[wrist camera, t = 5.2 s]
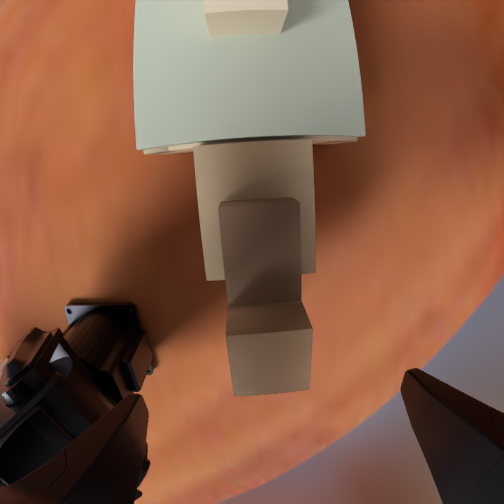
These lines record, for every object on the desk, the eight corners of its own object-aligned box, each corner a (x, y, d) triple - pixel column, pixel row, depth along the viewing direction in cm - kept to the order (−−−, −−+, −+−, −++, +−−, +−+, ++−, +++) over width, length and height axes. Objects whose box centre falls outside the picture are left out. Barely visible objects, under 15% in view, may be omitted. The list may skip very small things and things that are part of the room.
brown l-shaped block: (235, 343, 15) (234, 396, 11) (220, 201, 12) (212, 219, 9) (295, 338, 15) (309, 389, 11) (292, 196, 12) (313, 213, 9)
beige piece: (178, 247, 19) (154, 283, 14) (165, -24, 13) (144, -70, 8) (330, 236, 20) (364, 268, 14) (307, -32, 13) (326, -78, 8)
